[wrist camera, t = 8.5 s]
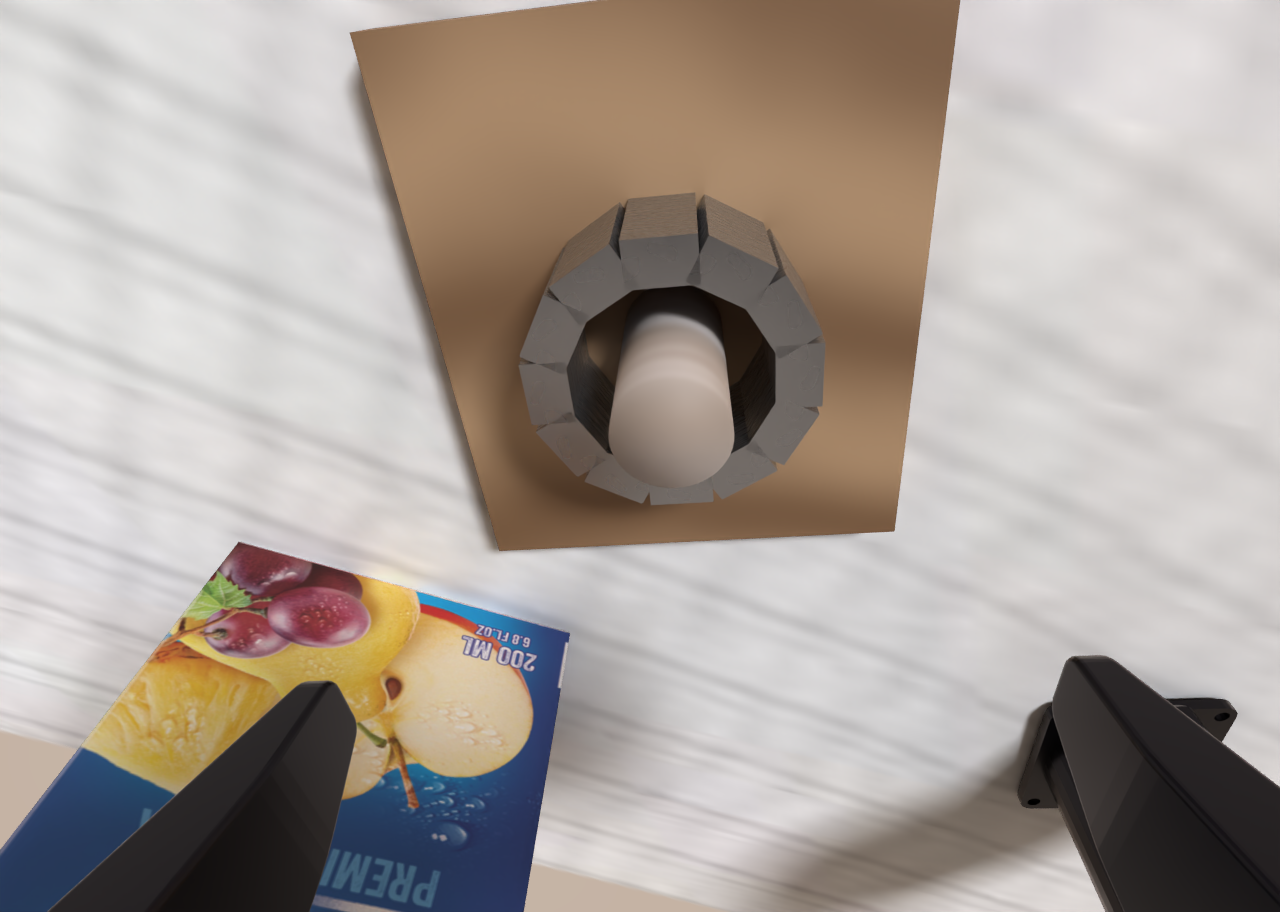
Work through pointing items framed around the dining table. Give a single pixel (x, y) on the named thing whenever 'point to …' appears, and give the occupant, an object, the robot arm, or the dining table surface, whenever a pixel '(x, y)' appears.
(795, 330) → the hub ring
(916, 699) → the dining table surface
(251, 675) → the juice carton
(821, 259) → the shaft stand
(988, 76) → the dining table surface
